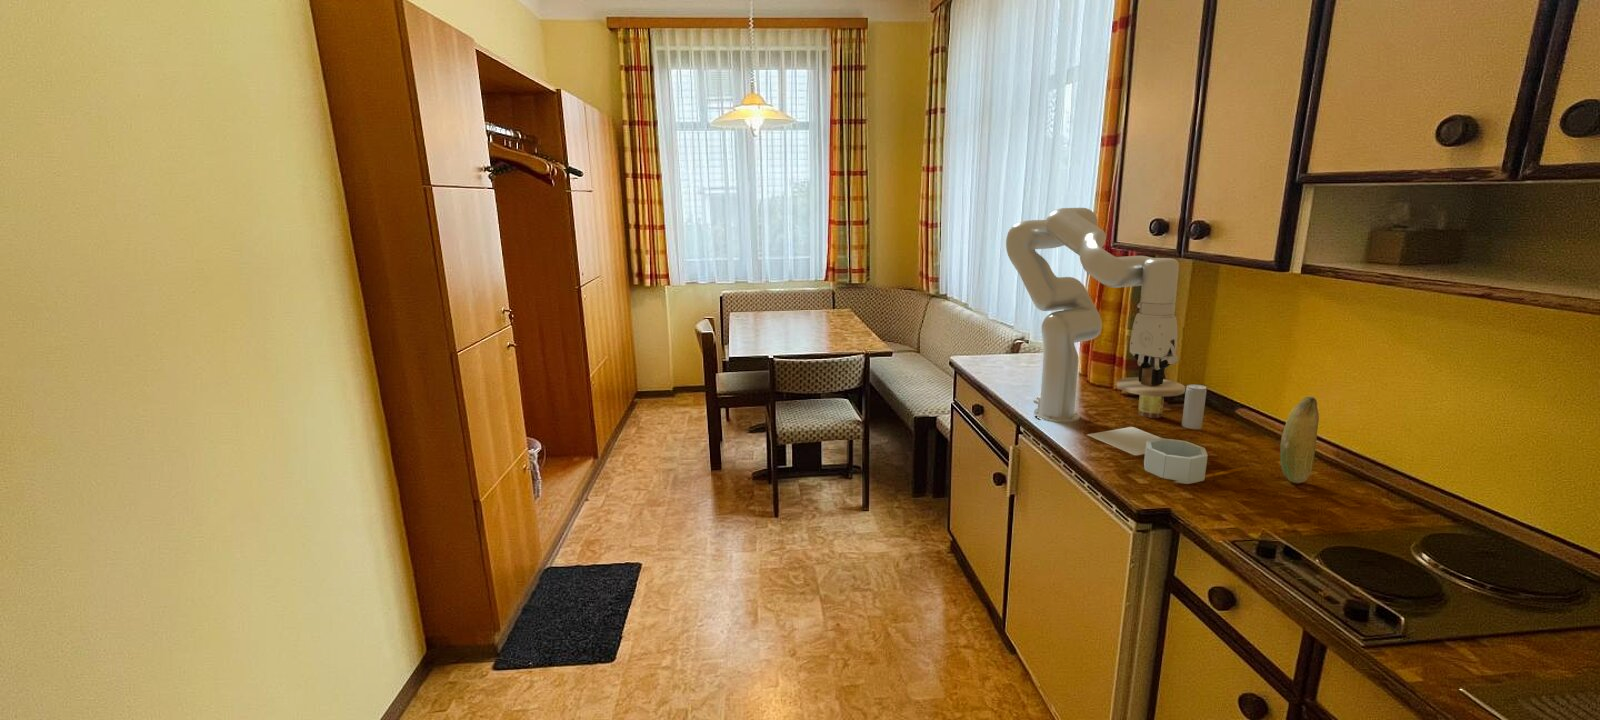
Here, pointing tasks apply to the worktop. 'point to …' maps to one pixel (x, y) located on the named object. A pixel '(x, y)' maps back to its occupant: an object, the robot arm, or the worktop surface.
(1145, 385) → the lid
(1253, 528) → the worktop surface
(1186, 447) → the bowl
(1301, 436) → the vegetable
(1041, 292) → the robot arm
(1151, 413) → the sauce bottle
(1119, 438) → the mat
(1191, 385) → the beverage can
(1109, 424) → the worktop surface
